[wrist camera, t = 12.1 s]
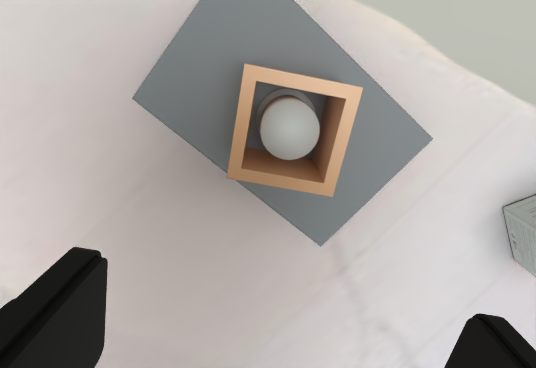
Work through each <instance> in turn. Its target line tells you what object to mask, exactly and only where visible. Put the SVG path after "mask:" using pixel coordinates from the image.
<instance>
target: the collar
mask: <svg viewBox="0 0 536 368" xmlns="http://www.w3.org/2000/svg"><path fill="white" fill-rule="evenodd" d="M258 81H259V82H264V83H269V84H274V85H279V86H284V87H289V88H294V89H299V90H304V91H309V92H314V93H319V94H324V95H327V99H326V103H325V107H324V111H323V115H322V119H321V123H320V133H319V138H318V141H317V143H316V145H315V148H314V152H313V156H312V158H307V157H301V158H298V159H294V160H285V159H280V158H278V157H276V156H274V155H272V154H271V153H270V152H269V151H268V150H264V149H259V148H253V147H248V146H247V141H248V136H249V130H250V124H251V118H252V112H253V107H254V101H255V95H256V89H257V83H258ZM362 90H363V87H359V86H354V85H350V84H346V83H342V82H337V81H332V80H327V79H322V78H317V77H313V76H308V75H303V74H298V73H293V72H288V71H283V70H278V69H273V68H268V67H263V66H258V65H253V64H244V71H243V77H242V83H241V90H240V96H239V103H238V109H237V115H236V122H235V128H234V135H233V141H232V147H231V154H230V160H229V166H228V173H227V178H230V179H235V180H241V181H246V182H252V183H258V184H263V185H269V186H274V187H280V188H286V189H291V190H297V191H302V192H308V193H313V194H319V195H325V196H330V197H333V194H334V190H335V187H336V183H337V180H338V176H339V172H340V169H341V165H342V162H343V158H344V155H345V151H346V147H347V144H348V140H349V137H350V133H351V130H352V126H353V122H354V119H355V115H356V112H357V108H358V105H359V101H360V97H361V94H362Z"/></svg>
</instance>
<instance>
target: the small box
mask: <svg viewBox="0 0 536 368" xmlns="http://www.w3.org/2000/svg"><path fill="white" fill-rule="evenodd" d="M503 210H504V215H505V220H506V224H507V229H508V233H509V238H510V242H511V247H512V251H513V256H514V260H515V261H516V262H517V263H519V264H520V265H521V266H522V267H524V268H525V269H526V270H527V271H529V272H530V273H531V274H533V275H534V276H535V277H536V195H535V196H532V197H530V198H527V199H524V200H522V201H519V202H516V203H514V204H511V205H508V206H506V207H504V208H503Z"/></svg>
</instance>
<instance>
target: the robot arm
mask: <svg viewBox="0 0 536 368" xmlns="http://www.w3.org/2000/svg"><path fill="white" fill-rule="evenodd" d="M107 266H108V263H107V259H106V258H102V257H101V253H100V252H99V251H97V250H91V249H85V248H79V247H73V248H72V249H70V250H69V251H68V252H67V253H66V254H65V255H64V256H62V257H61V258H60V259H59V260H58V261H57V262H56V263H55V264H54V265H53V266H51V267H50V268H49V269H48V270H47V271H46V272H45V273H44V274H43V275H41V276H40V277H39V278H38V279H37V280H36V281H35V282H34V283H33V284H32V285H30V286H29V287H28V288H27V289H26V290H25V291H24V292H23V293H22V294H20V295H19V296H18V297H17V298H16V299H13V300H11V301H10V302H8V303H7V304H5V305H4V306H3V307H2V308H1V309H0V368H94V367H95V366H96V364H97V362H98V360H99V358H100V356H101V354H102V351H103V347H104V336H105V313H106V289H107ZM444 368H536V350H535V349H534V348H533V347H532V346H531V345H530V344H529V343H528V342H527V341H526V340H525V339H524V338H523V337H522V336H521V335H520V334H519V333H518V332H517V331H516V330H515V329H514V328H513V327H512V326H511V325H510V323H509V322H508V321H506V320H505V319H504V318H502V317H498V316H492V315H486V314H476V315H474V316H473V317H472V318H470V319H469V320H468V321H467V322H466V324H465V326H464V328H463V330H462V332H461V334H460V336H459V339H458V341H457V343H456V345H455V347H454V349H453V351H452V353H451V355H450V357H449V359H448V361H447V363H446V365H445V367H444Z"/></svg>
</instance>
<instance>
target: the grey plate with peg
mask: <svg viewBox="0 0 536 368" xmlns="http://www.w3.org/2000/svg"><path fill="white" fill-rule="evenodd" d="M244 64H253V65H258V66H263V67H268V68H273V69H278V70H283V71H288V72H293V73H298V74H303V75H308V76H313V77H317V78H322V79H327V80H332V81H337V82H342V83H346V84H350V85H354V86H359V87H363V90H362V94H361V97H360V101H359V105H358V108H357V112H356V115H355V119H354V122H353V126H352V130H351V133H350V137H349V140H348V144H347V147H346V151H345V155H344V158H343V162H342V165H341V169H340V172H339V176H338V180H337V183H336V187H335V190H334V194H333V197H330V196H325V195H319V194H313V193H308V192H302V191H297V190H291V189H286V188H280V187H274V186H269V185H263V184H258V183H252V182H246V181H241V180H236V181H238V182H239V183H240V184H242V185H243V186H244V187H245V188H247V189H248V190H249V191H250V192H252V193H253V194H254V195H256V196H257V197H258V198H259V199H261V200H262V201H263V202H265V203H266V204H267V205H268V206H270V207H271V208H272V209H273V210H275V211H276V212H277V213H279V214H280V215H281V216H282V217H284V218H285V219H286V220H287V221H289V222H290V223H291V224H293V225H294V226H295V227H296V228H298V229H299V230H300V231H301V232H303V233H304V234H305V235H307V236H308V237H309V238H310V239H312V240H313V241H314V242H315V243H317V244H318V245H319V246H322V245H323V244H324V243H325V242H326V241H327V240H328V239H329V238H330V237H331V236H332V235H333V234H334V233H335V232H336V231H338V230H339V229H340V228H341V227H342V226H343V225H344V224H345V223H346V222H347V221H348V220H349V219H350V218H351V217H352V216H353V215H354V214H355V213H356V212H357V211H358V210H359V209H360V208H361V207H363V206H364V205H365V204H366V203H367V202H368V201H369V200H370V199H371V198H372V197H373V196H374V195H375V194H376V193H377V192H378V191H379V190H380V189H381V188H382V187H383V186H384V185H385V184H387V183H388V182H389V181H390V180H391V179H392V178H393V177H394V176H395V175H396V174H397V173H398V172H399V171H400V170H401V169H402V168H403V167H404V166H405V165H406V164H407V163H408V162H409V161H410V160H412V159H413V158H414V157H415V156H416V155H417V154H418V153H419V152H420V151H421V150H422V149H423V148H424V147H425V146H426V145H427V144H428V143H429V142H430V141H431V140H432V139H433V138H432V137H431V136H430V135H429V134H428V133H427V132H426V131H425V130H424V129H423V128H422V127H421V126H420V125H419V124H418V123H417V122H416V121H415V120H414V119H413V118H412V117H411V116H410V115H409V114H408V113H407V112H406V111H405V110H404V109H403V108H402V107H401V106H400V105H399V104H398V103H397V102H396V101H395V100H394V99H393V98H392V97H391V96H390V95H389V94H388V93H387V92H386V91H385V90H384V89H383V88H382V87H381V86H380V85H379V84H378V83H377V82H376V81H375V80H374V79H373V78H372V77H371V76H370V75H369V74H368V73H366V72H365V71H364V70H363V69H362V68H361V67H360V66H359V65H358V64H357V63H356V62H355V61H354V60H353V59H352V58H351V57H350V56H349V55H348V54H347V53H346V52H345V51H344V50H343V49H342V48H341V47H340V46H339V45H338V44H337V43H336V42H335V41H334V40H333V39H332V38H331V37H330V36H329V35H328V34H327V33H326V32H325V31H324V30H323V29H322V28H321V27H320V26H319V25H318V24H317V23H316V22H315V21H314V20H313V19H312V18H311V17H310V16H309V15H308V14H307V13H306V12H305V11H304V10H303V9H302V8H301V7H300V6H299V5H298V4H297V3H296V2H295V1H294V0H200V1H199V3H198V4H197V5H196V7H195V8H194V10H193V11H192V13H191V14H190V15H189V17H188V18H187V20H186V21H185V23H184V24H183V26H182V27H181V28H180V30H179V31H178V33H177V34H176V36H175V37H174V39H173V40H172V41H171V43H170V44H169V46H168V47H167V49H166V50H165V51H164V53H163V54H162V56H161V57H160V59H159V60H158V62H157V63H156V64H155V66H154V67H153V69H152V70H151V72H150V73H149V75H148V76H147V77H146V79H145V80H144V82H143V83H142V85H141V86H140V87H139V89H138V90H137V92H136V93H135V95H134V96H133V98H132V99H133V100H135V101H136V102H137V103H138V104H140V105H141V106H142V107H143V108H145V109H146V110H147V111H149V112H150V113H151V114H152V115H154V116H155V117H156V118H157V119H159V120H160V121H161V122H163V123H164V124H165V125H166V126H168V127H169V128H170V129H171V130H173V131H174V132H175V133H177V134H178V135H179V136H180V137H182V138H183V139H184V140H185V141H187V142H188V143H189V144H191V145H192V146H193V147H194V148H196V149H197V150H198V151H200V152H201V153H202V154H203V155H205V156H206V157H207V158H208V159H210V160H211V161H212V162H214V163H215V164H216V165H217V166H219V167H220V168H221V169H222V170H224V171H225V172H226V173H228V166H229V160H230V154H231V147H232V141H233V135H234V128H235V122H236V115H237V109H238V103H239V96H240V90H241V83H242V77H243V71H244ZM326 99H327V95H324V94H319V93H314V92H309V91H304V90H299V89H294V88H289V87H284V86H279V85H274V84H269V83H264V82H259V81H258V83H257V89H256V95H255V101H254V107H253V112H252V118H251V124H250V130H249V136H248V141H247V146H248V147H253V148H259V149H264V150H268V151H269V152H270V153H271V154H272V155H274V156H276V157H278V158H280V159H285V160H294V159H298V158H301V157H307V158H312V156H313V152H314V148H315V145H316V143H317V141H318V138H319V133H320V123H321V119H322V115H323V111H324V107H325V103H326Z"/></svg>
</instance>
